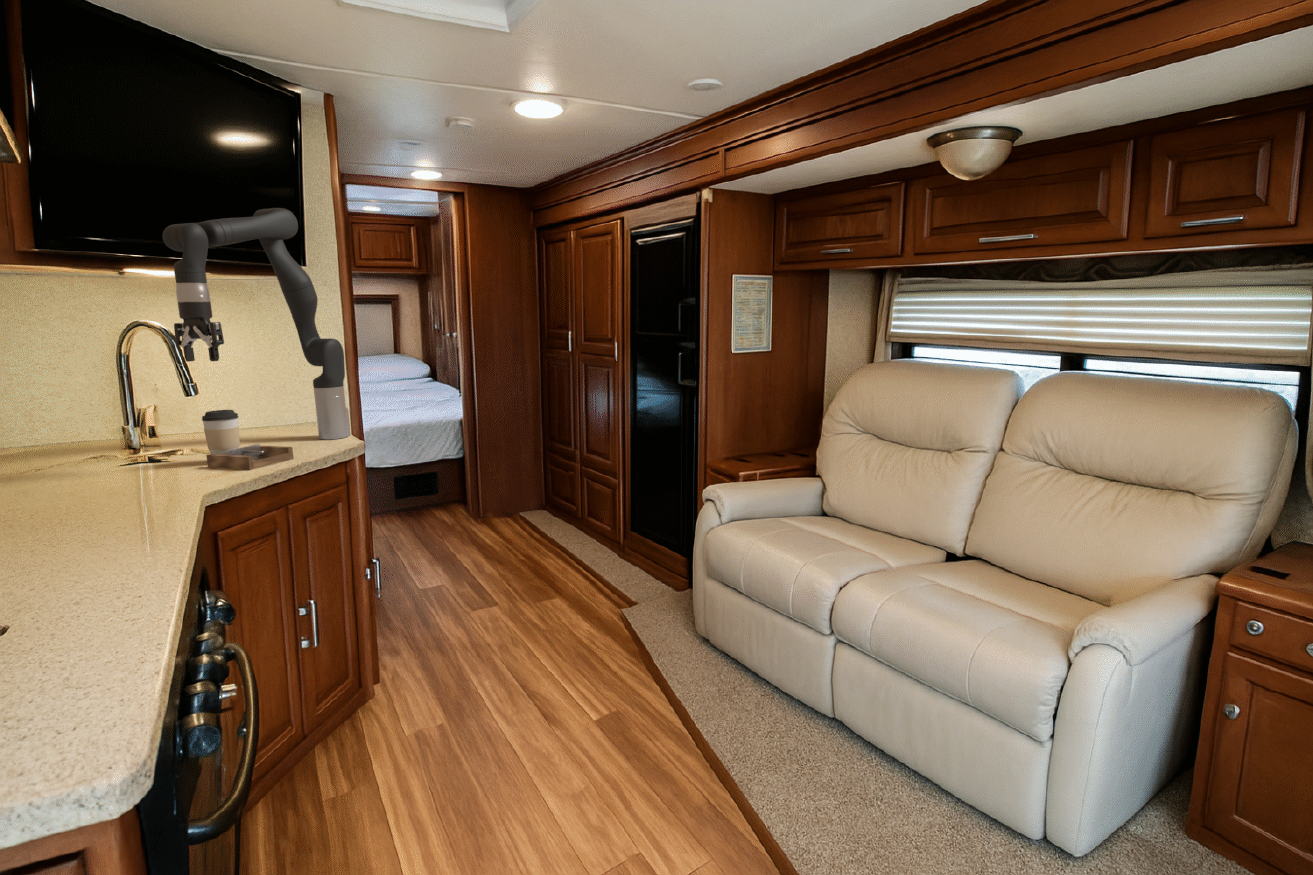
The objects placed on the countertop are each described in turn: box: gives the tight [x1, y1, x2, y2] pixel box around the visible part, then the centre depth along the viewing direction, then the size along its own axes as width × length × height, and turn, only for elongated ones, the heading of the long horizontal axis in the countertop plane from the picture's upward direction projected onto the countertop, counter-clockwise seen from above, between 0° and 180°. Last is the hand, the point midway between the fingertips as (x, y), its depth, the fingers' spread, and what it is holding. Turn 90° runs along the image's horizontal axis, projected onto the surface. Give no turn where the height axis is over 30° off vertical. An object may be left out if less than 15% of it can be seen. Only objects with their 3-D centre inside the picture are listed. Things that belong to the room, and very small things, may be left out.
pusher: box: [223, 443, 265, 461], centre depth 200 cm, size 8×11×4 cm
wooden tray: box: [205, 444, 294, 471], centre depth 201 cm, size 15×15×4 cm
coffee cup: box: [201, 409, 241, 455], centre depth 203 cm, size 9×9×15 cm
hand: (202, 361), depth 194 cm, fingers open, 8 cm apart
